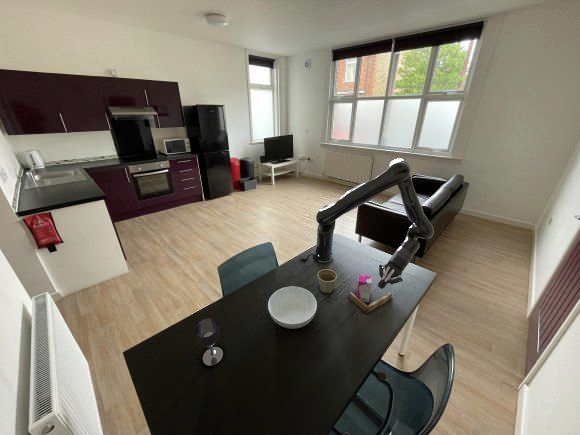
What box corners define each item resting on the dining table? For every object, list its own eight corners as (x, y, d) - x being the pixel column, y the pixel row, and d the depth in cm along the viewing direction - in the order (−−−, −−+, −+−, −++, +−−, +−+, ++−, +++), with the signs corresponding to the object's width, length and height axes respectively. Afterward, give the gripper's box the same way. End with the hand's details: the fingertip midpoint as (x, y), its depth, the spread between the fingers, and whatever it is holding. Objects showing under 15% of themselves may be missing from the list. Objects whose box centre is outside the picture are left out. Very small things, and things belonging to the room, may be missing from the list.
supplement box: (368, 294, 115) (372, 275, 110) (368, 303, 110) (372, 284, 105) (356, 292, 117) (359, 273, 112) (355, 300, 111) (358, 281, 107)
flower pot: (314, 292, 116) (315, 278, 113) (319, 280, 124) (320, 267, 121) (333, 298, 113) (334, 283, 109) (337, 285, 121) (338, 271, 117)
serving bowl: (258, 316, 104) (257, 304, 101) (291, 291, 117) (291, 280, 115) (294, 345, 91) (294, 333, 88) (326, 313, 105) (326, 302, 102)
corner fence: (366, 313, 105) (367, 308, 103) (349, 298, 113) (349, 293, 112) (391, 298, 112) (392, 294, 111) (373, 285, 121) (374, 280, 120)
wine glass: (212, 371, 82) (205, 341, 76) (196, 359, 86) (189, 330, 80) (228, 352, 88) (223, 323, 82) (213, 342, 92) (208, 314, 86)
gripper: (386, 248, 116) (365, 277, 115) (411, 262, 106) (388, 294, 105) (392, 254, 121) (371, 282, 120) (416, 268, 110) (394, 298, 110)
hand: (379, 287), depth 113 cm, fingers closed
